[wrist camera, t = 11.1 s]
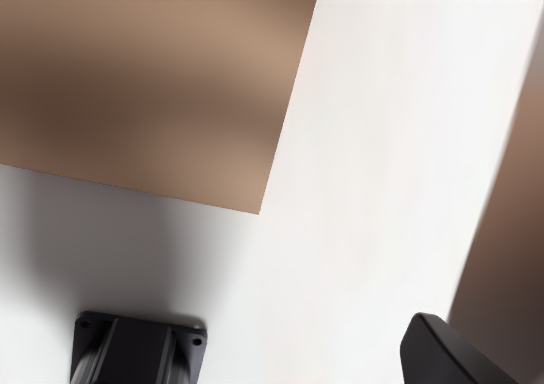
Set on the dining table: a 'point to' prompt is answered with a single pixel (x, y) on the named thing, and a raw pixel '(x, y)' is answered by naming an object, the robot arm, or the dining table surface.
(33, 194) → the dining table surface
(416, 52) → the dining table surface
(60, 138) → the walnut board
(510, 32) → the dining table surface
